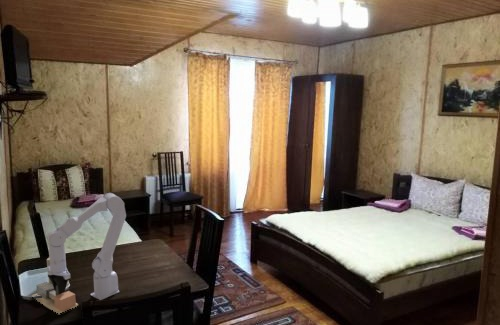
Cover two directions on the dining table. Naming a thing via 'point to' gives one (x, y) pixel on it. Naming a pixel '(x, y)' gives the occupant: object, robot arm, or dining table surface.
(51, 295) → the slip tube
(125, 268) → the dining table surface
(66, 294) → the socket block
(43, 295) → the grey sleeve
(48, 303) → the birch board
